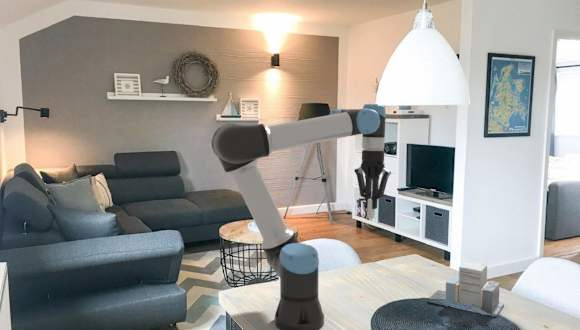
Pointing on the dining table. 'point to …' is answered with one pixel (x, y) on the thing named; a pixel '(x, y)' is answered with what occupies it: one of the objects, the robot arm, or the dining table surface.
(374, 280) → the dining table surface
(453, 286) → the block
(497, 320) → the dining table surface
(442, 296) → the vise
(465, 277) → the supplement box
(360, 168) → the robot arm
